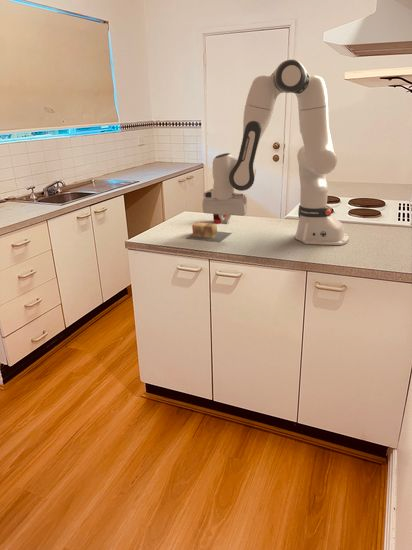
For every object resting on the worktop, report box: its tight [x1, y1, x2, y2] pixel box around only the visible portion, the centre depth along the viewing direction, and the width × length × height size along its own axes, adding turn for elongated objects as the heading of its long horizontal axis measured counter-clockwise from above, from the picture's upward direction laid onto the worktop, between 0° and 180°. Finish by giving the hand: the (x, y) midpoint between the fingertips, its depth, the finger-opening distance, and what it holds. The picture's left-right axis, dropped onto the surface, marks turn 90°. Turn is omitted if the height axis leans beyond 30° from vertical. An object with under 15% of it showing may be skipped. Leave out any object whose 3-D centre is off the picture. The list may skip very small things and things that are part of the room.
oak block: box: [191, 221, 218, 238], centre depth 187 cm, size 5×5×10 cm
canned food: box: [212, 214, 227, 225], centre depth 205 cm, size 8×8×11 cm
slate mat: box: [185, 230, 233, 243], centre depth 187 cm, size 17×14×1 cm
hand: (225, 223), depth 181 cm, fingers closed
